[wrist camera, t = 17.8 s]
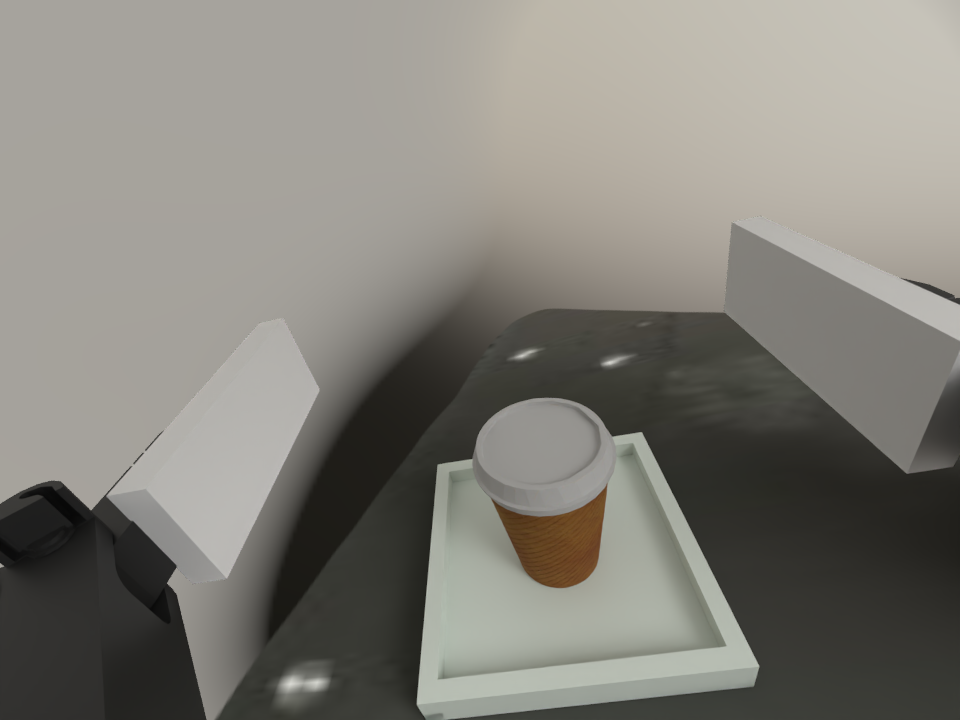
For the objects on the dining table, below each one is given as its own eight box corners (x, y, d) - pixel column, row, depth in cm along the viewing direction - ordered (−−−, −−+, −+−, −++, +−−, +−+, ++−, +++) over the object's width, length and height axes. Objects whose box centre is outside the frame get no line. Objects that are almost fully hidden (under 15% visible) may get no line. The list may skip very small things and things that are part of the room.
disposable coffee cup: (630, 612, 30) (626, 493, 24) (493, 609, 32) (457, 499, 26) (612, 499, 38) (606, 388, 32) (503, 503, 40) (478, 398, 34)
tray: (443, 482, 45) (437, 464, 44) (641, 451, 43) (641, 432, 42) (427, 721, 28) (416, 704, 27) (753, 686, 26) (759, 666, 25)
